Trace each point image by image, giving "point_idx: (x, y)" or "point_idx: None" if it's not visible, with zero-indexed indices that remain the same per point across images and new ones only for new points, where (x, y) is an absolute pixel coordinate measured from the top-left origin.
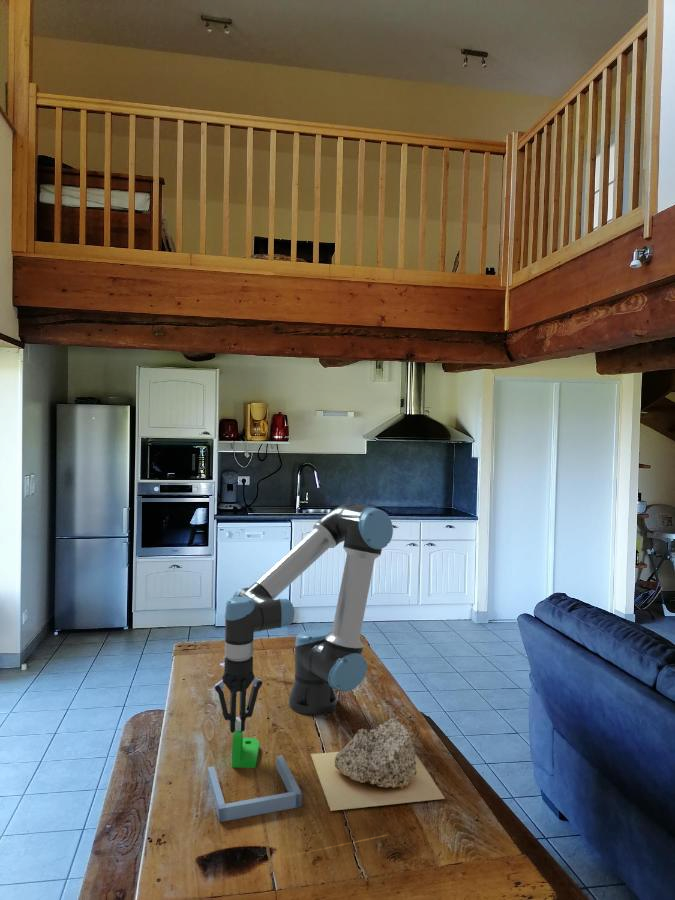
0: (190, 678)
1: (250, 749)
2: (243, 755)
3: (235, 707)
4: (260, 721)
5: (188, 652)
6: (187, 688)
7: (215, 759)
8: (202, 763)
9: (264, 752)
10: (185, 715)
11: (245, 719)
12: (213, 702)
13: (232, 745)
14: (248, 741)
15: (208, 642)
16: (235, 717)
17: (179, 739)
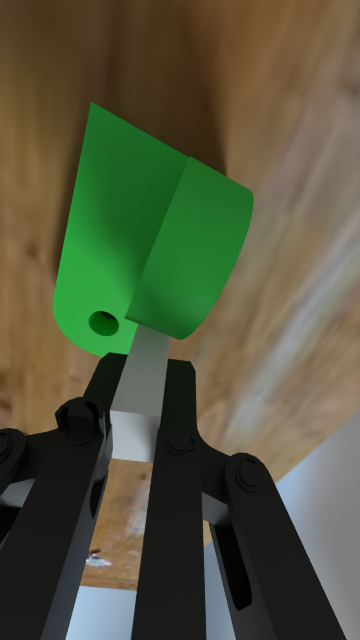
0: None
1: (102, 261)
2: (152, 214)
3: (140, 636)
4: (49, 428)
5: None
6: None
7: (262, 288)
8: (325, 280)
9: (43, 255)
10: None
11: (60, 411)
12: None
13: (251, 194)
14: (100, 333)
15: (117, 588)
16: (157, 459)
17: (300, 429)
